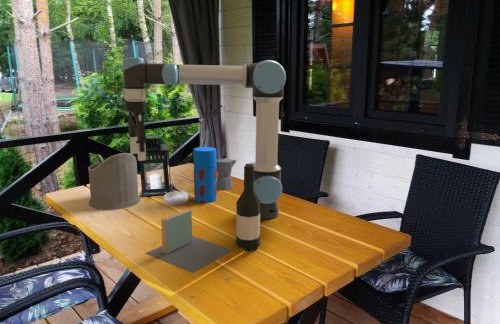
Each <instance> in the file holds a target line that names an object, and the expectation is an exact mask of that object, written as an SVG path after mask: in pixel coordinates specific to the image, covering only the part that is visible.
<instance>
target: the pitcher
mask: <svg viewBox="0 0 500 324" xmlns="http://www.w3.org/2000/svg"><path fill="white" fill-rule="evenodd" d="M98 157H99V159H100V160H101V162H98ZM94 161H95V163H94V164H91V165H90V166H88V177H89V191H90V193H89V194H90V198H89V201H88V207H90V208H92V209H93V210H100V211H116V210H118V211H119V210H124V209H129V208H132V207H134V206H137V205H138V204H139V203H141V201H142V199H141V197H140V195H139V184H138V183H139V181H138V166H137V165H138V163H137V161H138V160H137V159H136V157H135V156H134V154H131V153H127V152H123V153H117V154H114V155H111V156H108V157H107V158H106V159H105V160H104V159H103V157H102V156H101V155H100V154H99V153H98V154H96V155H95V159H94Z"/></svg>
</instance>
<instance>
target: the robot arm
mask: <svg viewBox="0 0 500 324" xmlns="http://www.w3.org/2000/svg"><path fill="white" fill-rule="evenodd" d="M122 78H123V79H122V80H123V81H122V82H123V91H122V94H123V97H124V100H125V101H124V110H125V112H128V133H127V134H128V135H129V136H128V137H129V145H130V146H129V147H130V154H132V155H135V154H137V161H138V162H141V161H147V152H146V142H147V140H148V139H147V134H146V128H145V120H144V115H143V114H141V113H142V112H143V113H144V112H146V111H147V103H146V99H147V97H146V96H147V95H146V85H164V86H165V85H167V86H169V85H179V84H180V85H181V84H182V85H211V86H212V85H213V86H214V85H215V86H217V85H218V86H220V85H221V86H242V87H244V88H245V89H252V96H251V97H252V99H254V101H255V102H256V104H255V107H256V108H255V111H256V112H255V161H252V162H250V163H249V164H253V166H254V192H255V193H256V195H257V197H258V198H259V200H260V202H261V203H260V220H270V219H274V218H275V219H276V217H278V216H279V213H280V210H279V209H280V208H279V205H278V202H277V200H279V199H280V197H281V195H282V194H283V193H282V192H283V184H282V182H281V178H282V167H281V166H280V165H279V164H278V150H279V149H278V148H279V147H278V146H279V120H280V119H279V116H280V114H279V113H280V101H281V100H283V99H284V88H285V87H284V86H285V85H286V80H287V75H286V71H285V68H284V67H283V66H282V65H281V64H280V62H277V61H275V60H272V59H271V60H270V59H265V60H262V61H260V62H256V63H254V62H253V63H244V64H243V65H212V64H210V65H209V64H207V65H206V64H176V63H170V62H167V63H164V62H163V63H157V62H156V63H154V62H153V63H147V62H145V60H144V58H143V57H133V56H132V57H131V56H129V57H127V56H126V57H124V58H123V59H122Z"/></svg>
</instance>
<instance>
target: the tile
mask: <svg viewBox="0 0 500 324" xmlns="http://www.w3.org/2000/svg"><path fill="white" fill-rule="evenodd" d="M192 213H193V211H192V210H191V209H188V208H186V209H183V210H181V211H177V212H176V213H172V214H171V215H167V216H165V217H162V218H161V219H160V221H161V222H160V223H161V224H160V225H161V246H162V251H163V253H166V254H168V253H170V252H172V251H174V250H176V249H178V248H180V247H182V246H184V245H186V244H189V243H191V242H192V236H193V220H192V219H193V217H192V216H193V214H192Z"/></svg>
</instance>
